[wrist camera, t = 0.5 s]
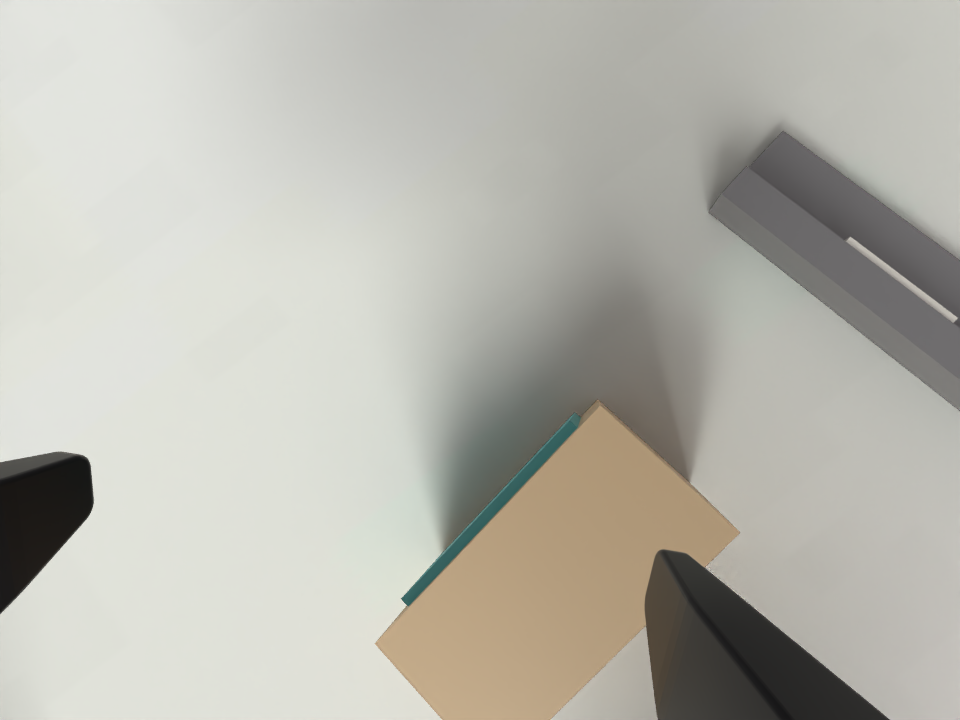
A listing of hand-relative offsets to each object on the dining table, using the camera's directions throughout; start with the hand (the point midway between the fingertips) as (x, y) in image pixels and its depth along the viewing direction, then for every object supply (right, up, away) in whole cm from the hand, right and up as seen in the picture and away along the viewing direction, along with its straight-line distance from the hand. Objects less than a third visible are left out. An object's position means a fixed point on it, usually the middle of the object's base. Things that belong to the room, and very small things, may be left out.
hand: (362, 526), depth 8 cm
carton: (+5, -4, +13) cm, 14 cm away
